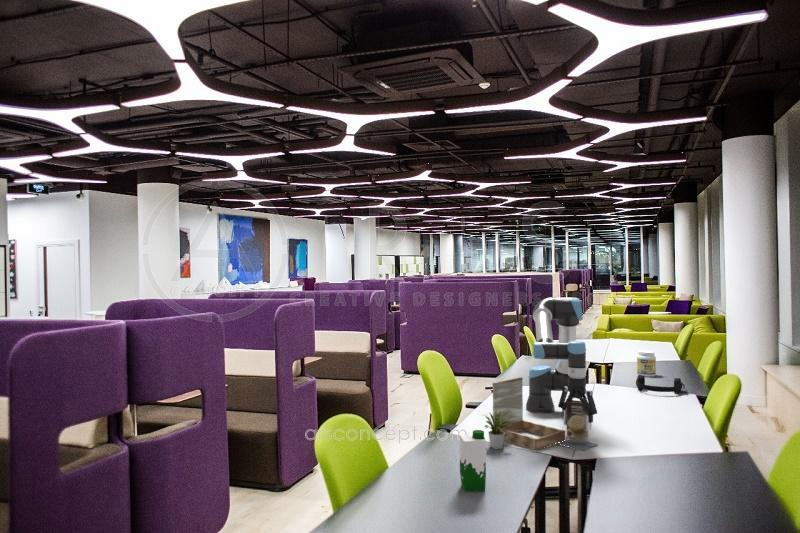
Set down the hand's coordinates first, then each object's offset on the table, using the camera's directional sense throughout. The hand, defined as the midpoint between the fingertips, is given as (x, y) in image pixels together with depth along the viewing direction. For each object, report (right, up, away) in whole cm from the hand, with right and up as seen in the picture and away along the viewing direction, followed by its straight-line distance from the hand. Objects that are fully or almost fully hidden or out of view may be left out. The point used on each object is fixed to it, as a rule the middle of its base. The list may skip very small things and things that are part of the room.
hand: (577, 427), depth 254 cm
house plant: (-36, -8, -3) cm, 37 cm away
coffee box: (0, -5, 0) cm, 5 cm away
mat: (0, -8, 0) cm, 8 cm away
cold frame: (-19, -8, +9) cm, 22 cm away
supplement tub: (+96, -7, +154) cm, 181 cm away
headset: (+84, -7, +105) cm, 135 cm away
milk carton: (-52, -9, -47) cm, 71 cm away
